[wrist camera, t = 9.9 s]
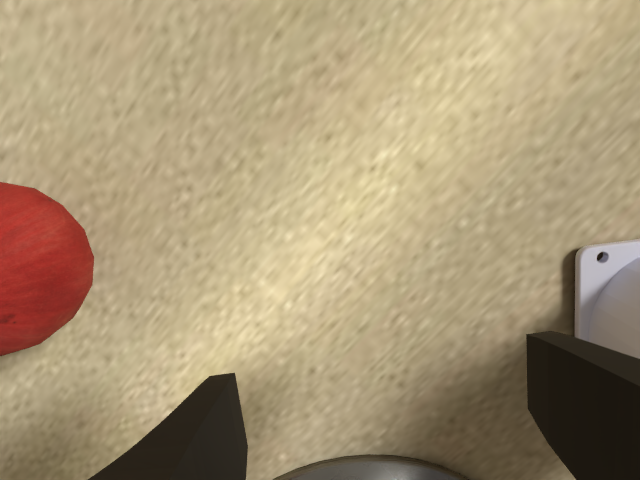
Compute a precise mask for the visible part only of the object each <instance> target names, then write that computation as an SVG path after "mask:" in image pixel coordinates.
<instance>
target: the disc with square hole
mask: <svg viewBox="0 0 640 480" xmlns="http://www.w3.org/2000/svg"><path fill="white" fill-rule="evenodd" d="M274 480H469V479H467V478H466V477H464V476H462V475H460V474H458V473H456V472H454V471H451V470H449V469H447V468H444V467H442V466H440V465H436V464H432V463H429V462H425V461H422V460H418V459H413V458H406V457H400V456H392V455H359V456H346V457H340V458H335V459H330V460H325V461H320V462H317V463H314V464H311V465H307V466H304V467H301V468H298V469H295V470H293V471H291V472H289V473H286V474H284V475H282V476H280V477H278V478H275V479H274Z"/></svg>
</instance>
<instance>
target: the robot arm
mask: <svg viewBox="0 0 640 480" xmlns="http://www.w3.org/2000/svg"><path fill="white" fill-rule="evenodd" d="M600 252H603V257H602V258H601V259H600V260H598V261H597V255H598V254H599V253H600ZM526 339H527V391H528V410H529V411H530V413H531V415H532V417H533V418H534V420H535V422H536V424H537V425H538V427H539V429H540V431H541V432H542V434H543V435H544V437H545V439H546V440H547V442H548V444H549V445H550V446H551V448H552V449H553V450H554V452H555V453H556V454H557V455H558V457H559V458H560V459H561V461H562V462H563V463H564V464H565V466H566V467H567V468H568V469H569V471H570V472H571V473H572V475H573V476H574V477H575V478H576V480H640V239H635V240H628V241H620V242H612V243H604V244H596V245H589V246H584V247H582V248H581V249H579V250H578V252H577V253H576V257H575V337H572V336H569V335H566V334H562V333H558V332H553V331H548V332H541V333H533V334H526ZM247 449H248V445H247V440H246V434H245V428H244V422H243V417H242V411H241V405H240V400H239V394H238V388H237V383H236V377H235V373H230V374H222V375H215V376H209V377H208V378H207V379H206V380H205V381H204V382H203V383H201V384H200V385H199V386H198V387H197V388H196V389H195V390H194V391H193V392H192V393H191V394H190V395H189V396H188V397H187V398H186V399H185V400H184V401H183V402H182V403H181V404H180V405H179V406H178V407H177V408H176V409H175V410H174V411H173V412H172V413H171V414H170V415H169V416H168V417H167V418H165V419H164V420H163V421H162V422H161V423H160V424H159V425H158V426H156V427H155V428H154V429H153V430H152V431H151V432H149V433H148V434H147V435H146V436H145V437H144V438H143V439H141V440H140V441H139V442H138V443H137V444H136V445H134V446H133V447H132V448H131V449H129V450H128V451H127V452H126V453H124V454H123V455H122V456H120V457H119V458H118V459H116V460H115V461H114V462H112V463H111V464H110V465H108V466H107V467H105V468H104V469H103V470H101V471H100V472H98V473H97V474H95V475H94V476H92V477H91V478H89V479H88V480H246V467H247Z"/></svg>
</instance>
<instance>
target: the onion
mask: <svg viewBox="0 0 640 480" xmlns="http://www.w3.org/2000/svg"><path fill="white" fill-rule="evenodd" d="M93 265H94V256H93V253H92V251H91V248H90V245H89V242H88V239H87V236H86V233H85V230H84V229H83V228H82V226H81V225H80V224H79V223H78V222H77V221H76V220H75V219H74V218H73V216H72V215H71V214H70V213H69V212H68V211H67V210H66V209H65V208H64V207H63V205H61V204H60V203H58V202H56V201H55V200H53V199H51V198H50V197H48V196H46V195H45V194H43V193H41V192H40V191H38V190H37V189H35V188H29V187H24V186H19V185H13V184H8V183H3V182H0V356H2V355H6V354H9V353H12V352H16V351H19V350H23V349H26V348H29V347H32V346H35V345H38V344H40V343H42V342H43V341H44V340H46V339H47V338H48V337H50V336H51V335H52V334H53V333H55V332H56V331H57V330H58V329H60V328H61V327H62V326H64V325H65V324H66V323H67V322H69V321H70V320H71V319H72V318H73V317H74V316H75V314H76V313H77V311H78V310H79V308H80V307H81V305H82V303H83V301H84V299H85V297H86V295H87V294H88V292H89V290H90V288H91V286H92V281H93Z"/></svg>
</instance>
